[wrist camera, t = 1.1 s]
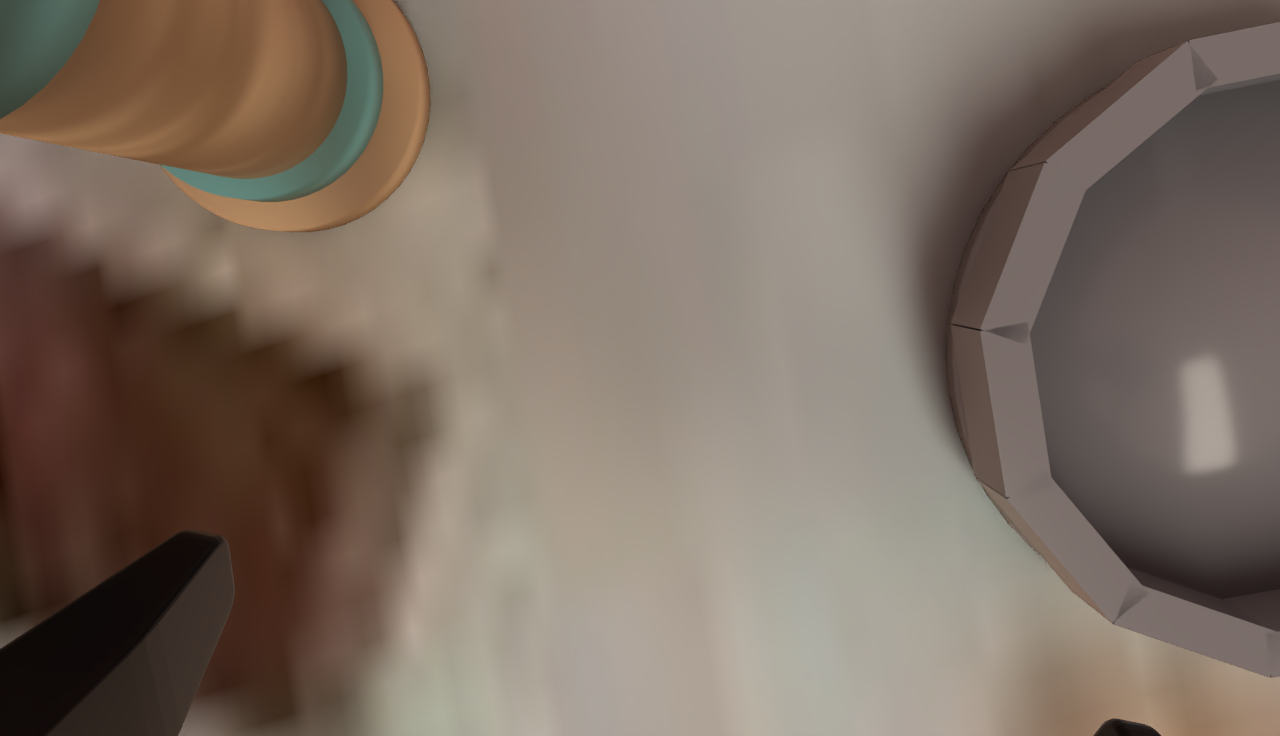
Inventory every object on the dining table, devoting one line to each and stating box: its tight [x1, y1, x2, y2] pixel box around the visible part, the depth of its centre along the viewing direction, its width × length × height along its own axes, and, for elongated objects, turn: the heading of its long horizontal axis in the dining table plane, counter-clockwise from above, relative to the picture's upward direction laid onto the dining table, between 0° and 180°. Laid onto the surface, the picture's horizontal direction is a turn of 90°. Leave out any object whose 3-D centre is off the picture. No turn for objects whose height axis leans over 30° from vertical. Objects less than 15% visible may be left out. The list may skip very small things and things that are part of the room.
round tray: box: [946, 22, 1280, 678], centre depth 21 cm, size 14×14×3 cm
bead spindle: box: [0, 0, 430, 232], centre depth 16 cm, size 6×6×14 cm
